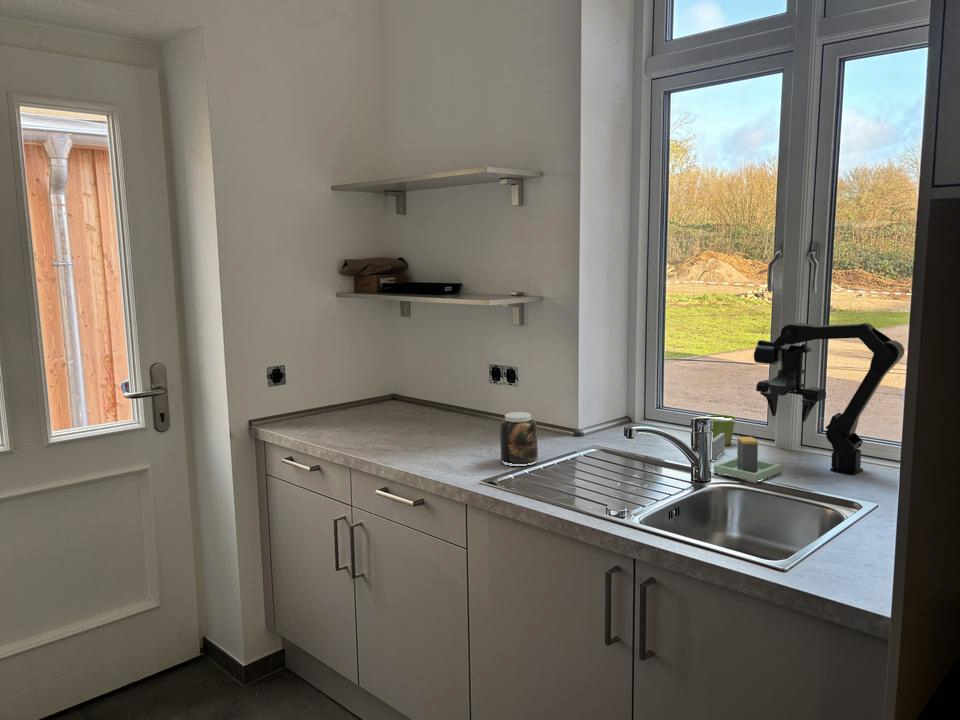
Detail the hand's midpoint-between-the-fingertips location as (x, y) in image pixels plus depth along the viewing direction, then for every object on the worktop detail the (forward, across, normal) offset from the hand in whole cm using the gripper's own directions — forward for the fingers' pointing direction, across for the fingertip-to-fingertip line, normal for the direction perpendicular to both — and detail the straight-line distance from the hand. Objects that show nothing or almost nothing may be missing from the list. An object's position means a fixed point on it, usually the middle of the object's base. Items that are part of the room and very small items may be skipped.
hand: (788, 418), depth 218 cm
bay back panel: (+14, -18, -8) cm, 24 cm away
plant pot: (+14, -25, +6) cm, 30 cm away
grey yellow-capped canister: (+13, -1, -18) cm, 22 cm away
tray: (+13, -1, -18) cm, 23 cm away
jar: (+16, -57, -55) cm, 81 cm away
